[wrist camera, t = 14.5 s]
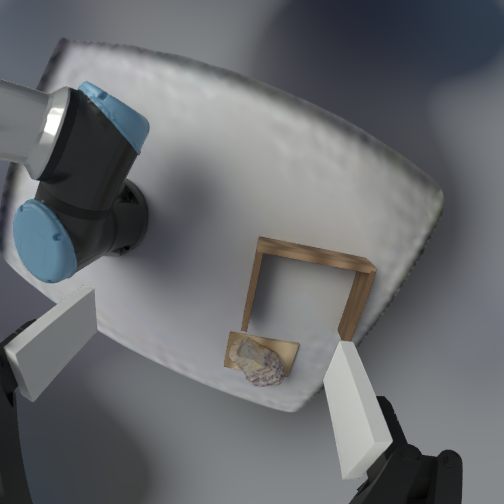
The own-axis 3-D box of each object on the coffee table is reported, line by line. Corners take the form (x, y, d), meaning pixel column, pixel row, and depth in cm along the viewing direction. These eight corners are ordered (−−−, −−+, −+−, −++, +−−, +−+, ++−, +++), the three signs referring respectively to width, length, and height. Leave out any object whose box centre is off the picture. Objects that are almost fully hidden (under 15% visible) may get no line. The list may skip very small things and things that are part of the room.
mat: (224, 365, 58) (223, 366, 57) (230, 331, 55) (229, 333, 55) (287, 375, 58) (287, 377, 57) (298, 343, 55) (298, 344, 55)
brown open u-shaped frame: (243, 314, 54) (241, 330, 48) (259, 236, 50) (258, 245, 44) (342, 330, 54) (348, 346, 48) (365, 258, 50) (376, 268, 44)
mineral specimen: (220, 353, 56) (215, 371, 50) (238, 330, 55) (235, 348, 49) (270, 380, 58) (269, 399, 52) (290, 359, 56) (292, 378, 50)
